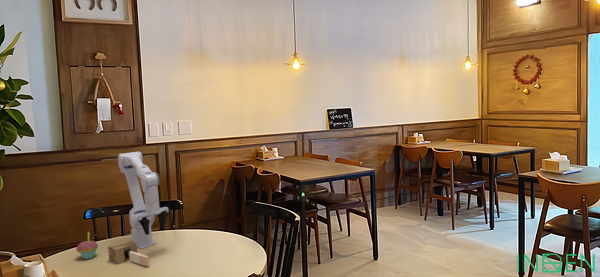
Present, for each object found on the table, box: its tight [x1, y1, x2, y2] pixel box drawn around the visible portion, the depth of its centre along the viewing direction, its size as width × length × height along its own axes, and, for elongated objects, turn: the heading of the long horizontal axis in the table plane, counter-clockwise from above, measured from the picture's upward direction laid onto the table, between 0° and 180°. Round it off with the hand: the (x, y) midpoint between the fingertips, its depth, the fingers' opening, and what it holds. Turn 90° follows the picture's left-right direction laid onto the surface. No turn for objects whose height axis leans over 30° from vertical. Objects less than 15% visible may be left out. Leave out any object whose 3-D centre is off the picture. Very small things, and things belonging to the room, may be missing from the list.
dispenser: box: [107, 239, 138, 265], centre depth 190 cm, size 8×9×6 cm
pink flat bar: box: [128, 251, 151, 267], centre depth 183 cm, size 12×1×4 cm, turn 53°
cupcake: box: [75, 231, 99, 260], centre depth 193 cm, size 9×8×12 cm
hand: (154, 231), depth 193 cm, fingers open, 7 cm apart
